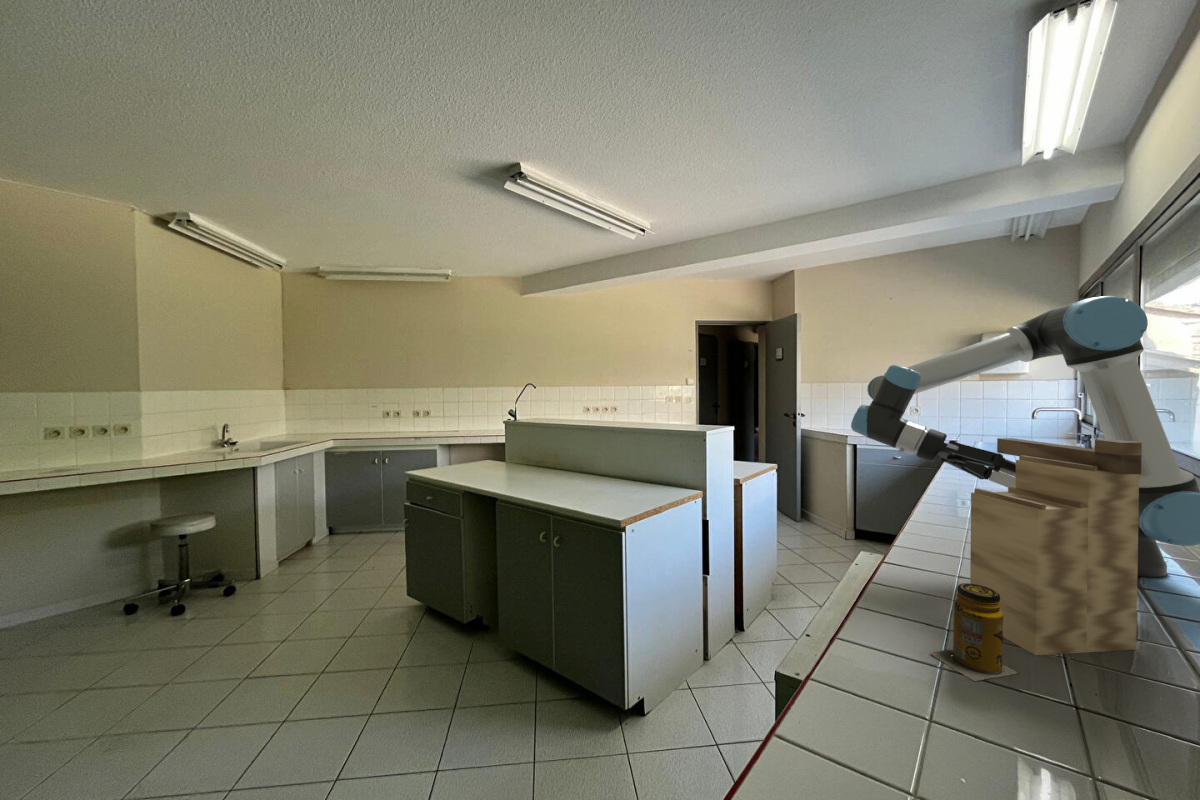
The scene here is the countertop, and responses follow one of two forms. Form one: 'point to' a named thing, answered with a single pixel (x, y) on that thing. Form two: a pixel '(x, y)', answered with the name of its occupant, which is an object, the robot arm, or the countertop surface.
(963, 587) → the condiment
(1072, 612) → the notch post
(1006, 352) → the robot arm
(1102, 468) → the frame bar
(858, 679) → the countertop surface
